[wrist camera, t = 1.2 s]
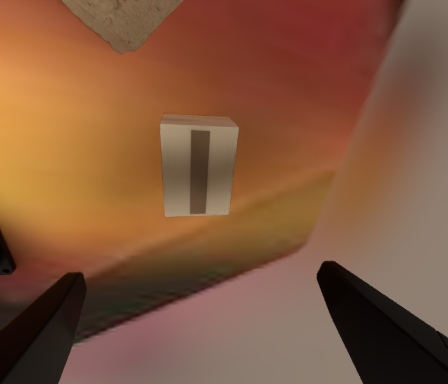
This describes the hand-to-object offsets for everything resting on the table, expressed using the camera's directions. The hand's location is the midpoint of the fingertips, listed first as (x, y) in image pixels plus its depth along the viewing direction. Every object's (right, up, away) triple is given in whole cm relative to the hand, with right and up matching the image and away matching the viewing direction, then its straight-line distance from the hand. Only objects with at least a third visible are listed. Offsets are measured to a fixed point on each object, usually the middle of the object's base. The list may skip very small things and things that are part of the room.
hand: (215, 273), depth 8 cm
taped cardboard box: (-2, +6, +10) cm, 12 cm away
